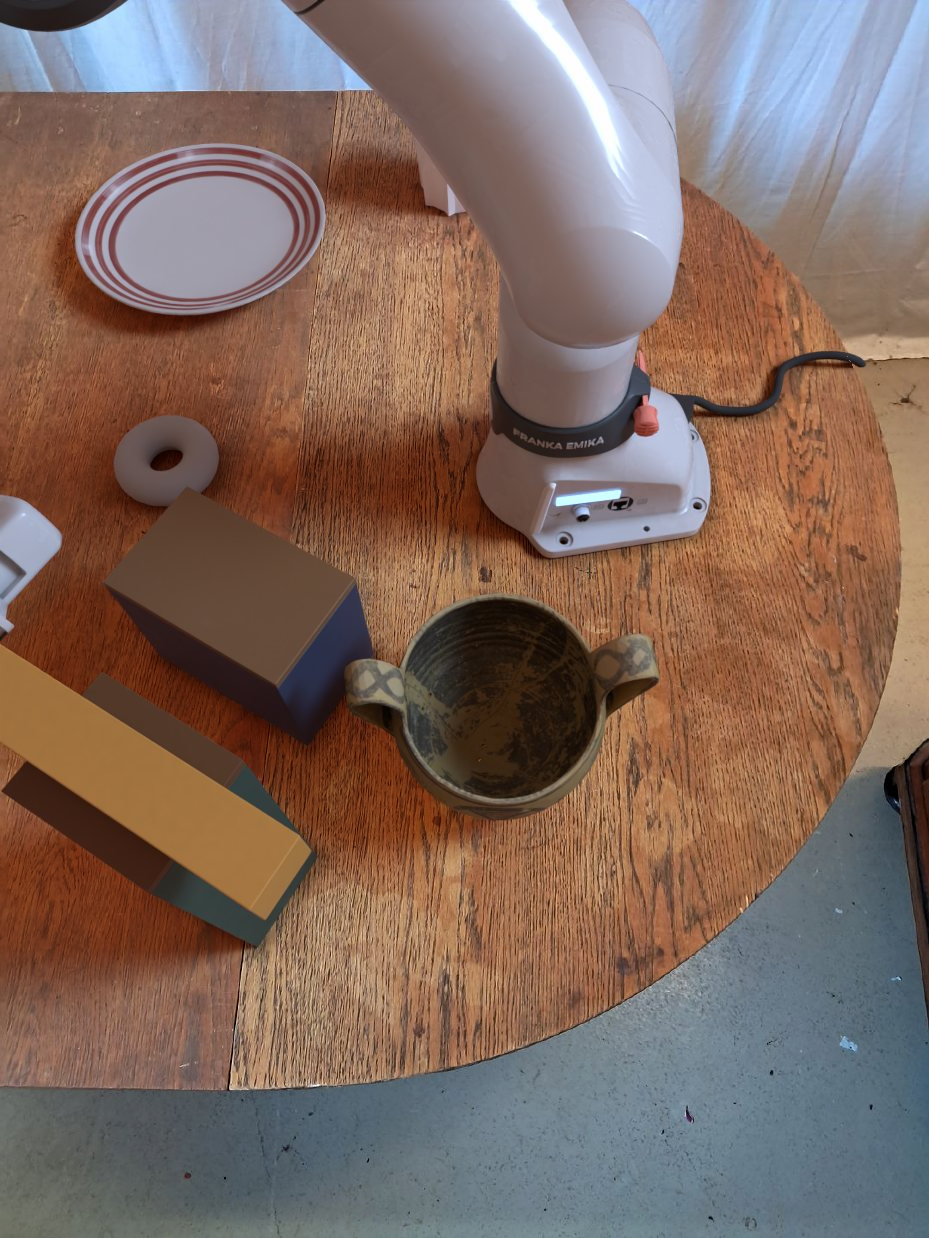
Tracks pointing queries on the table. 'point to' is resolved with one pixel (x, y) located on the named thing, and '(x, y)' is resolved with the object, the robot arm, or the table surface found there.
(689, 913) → the table surface
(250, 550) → the brown-topped navy block
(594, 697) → the ceramic bowl
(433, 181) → the cup
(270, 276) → the dinner plate
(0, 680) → the yellow ochre bar
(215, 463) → the donut
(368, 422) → the table surface
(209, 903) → the brown-topped teal block
